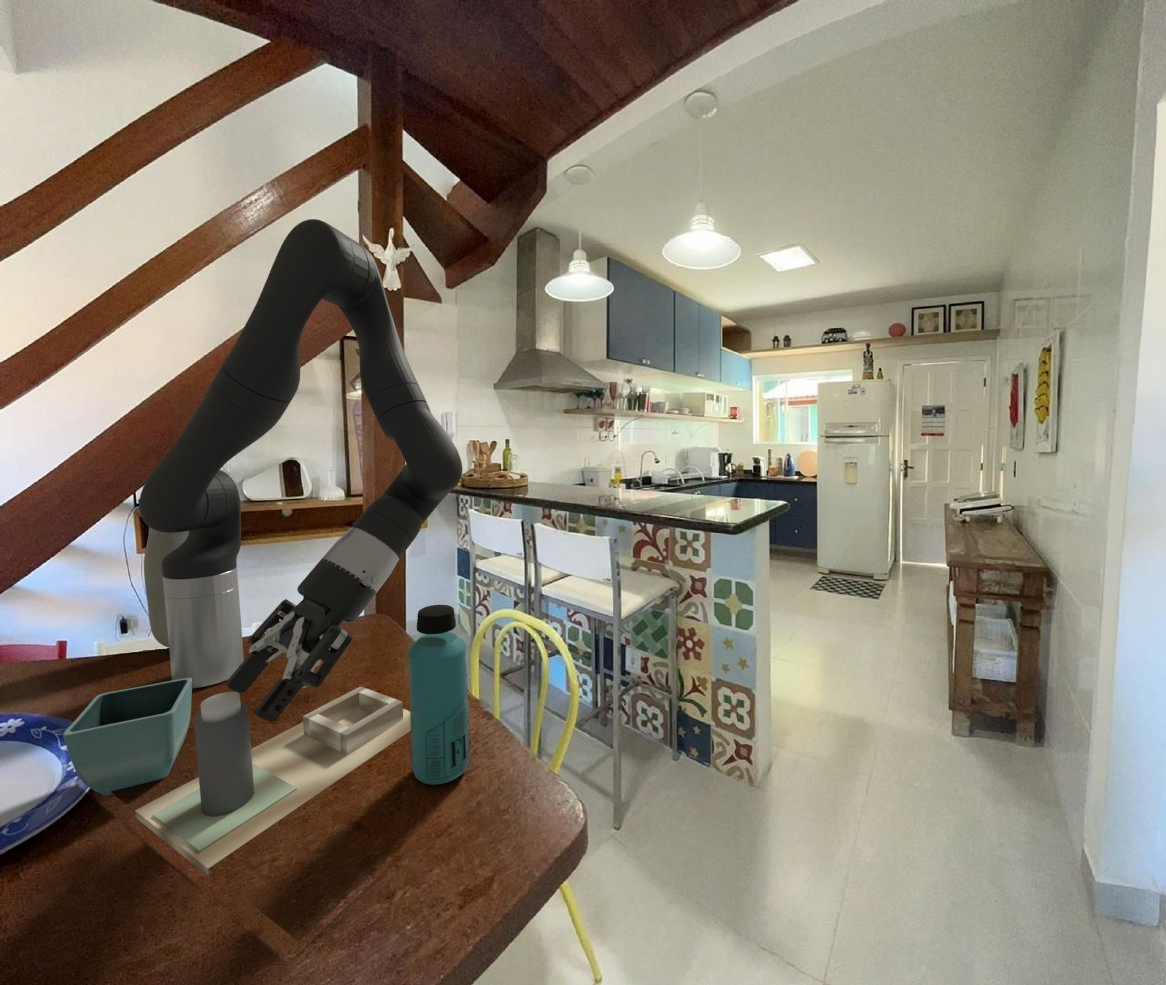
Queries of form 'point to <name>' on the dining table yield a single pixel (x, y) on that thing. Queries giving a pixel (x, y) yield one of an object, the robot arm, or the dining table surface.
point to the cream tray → (281, 776)
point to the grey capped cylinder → (224, 754)
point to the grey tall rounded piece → (158, 578)
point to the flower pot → (130, 735)
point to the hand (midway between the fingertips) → (247, 703)
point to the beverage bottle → (438, 698)
